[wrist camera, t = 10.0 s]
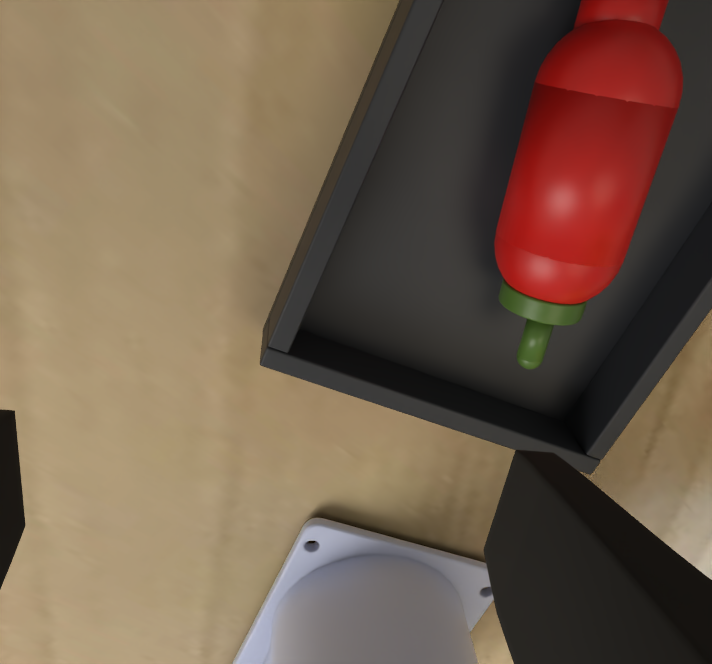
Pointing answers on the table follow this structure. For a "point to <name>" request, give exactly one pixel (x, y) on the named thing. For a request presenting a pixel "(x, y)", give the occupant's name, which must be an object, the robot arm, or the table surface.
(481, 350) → the tray
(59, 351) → the table surface
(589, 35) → the chili
